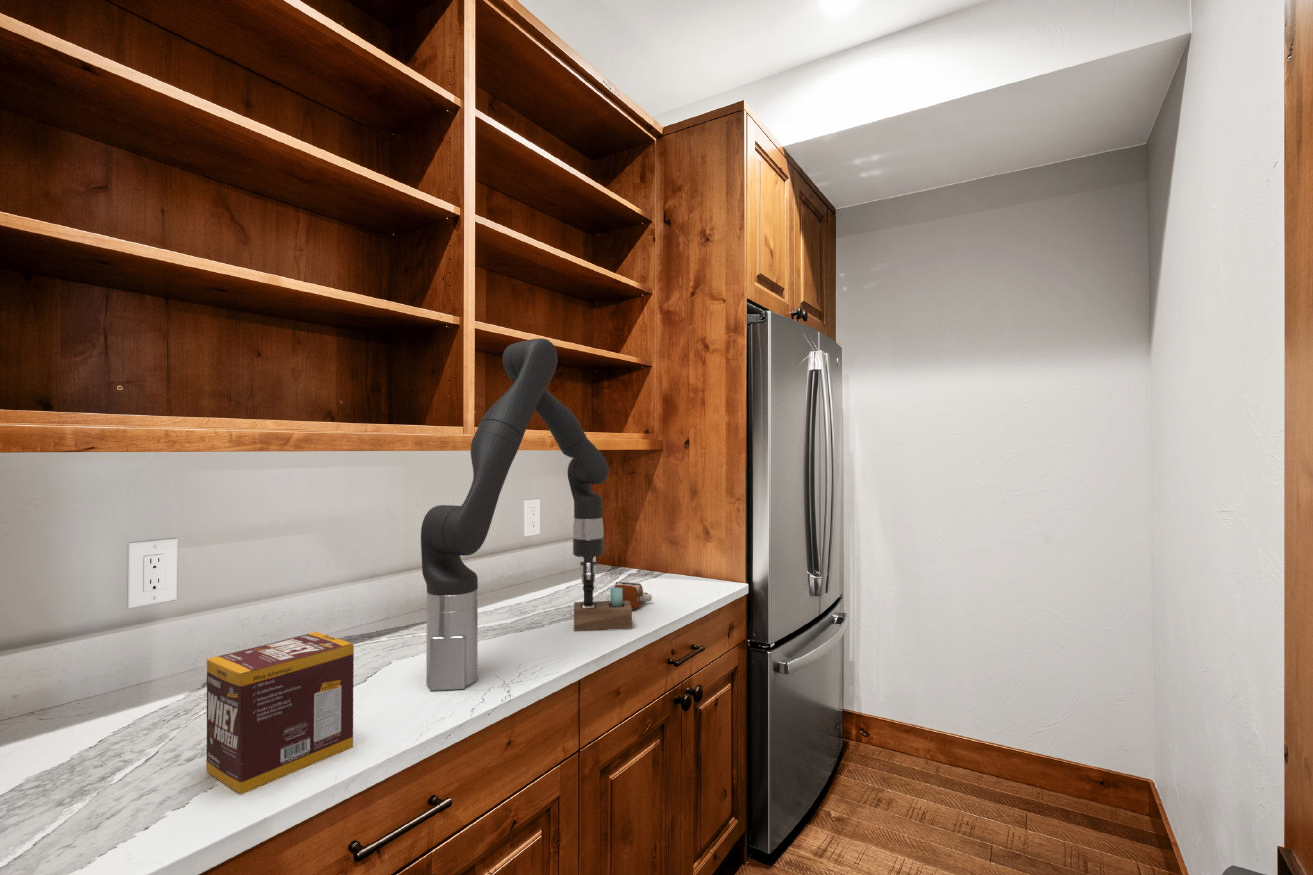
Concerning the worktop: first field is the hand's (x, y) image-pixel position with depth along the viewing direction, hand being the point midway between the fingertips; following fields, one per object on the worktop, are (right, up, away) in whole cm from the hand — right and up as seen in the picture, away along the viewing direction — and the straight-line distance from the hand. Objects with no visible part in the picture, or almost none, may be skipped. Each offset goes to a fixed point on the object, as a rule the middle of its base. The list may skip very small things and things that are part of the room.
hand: (588, 605), depth 153 cm
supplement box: (-36, -4, -65) cm, 75 cm away
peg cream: (0, -5, 0) cm, 5 cm away
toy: (+10, -6, +20) cm, 24 cm away
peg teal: (+7, -1, +1) cm, 7 cm away
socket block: (+3, -5, 0) cm, 6 cm away
